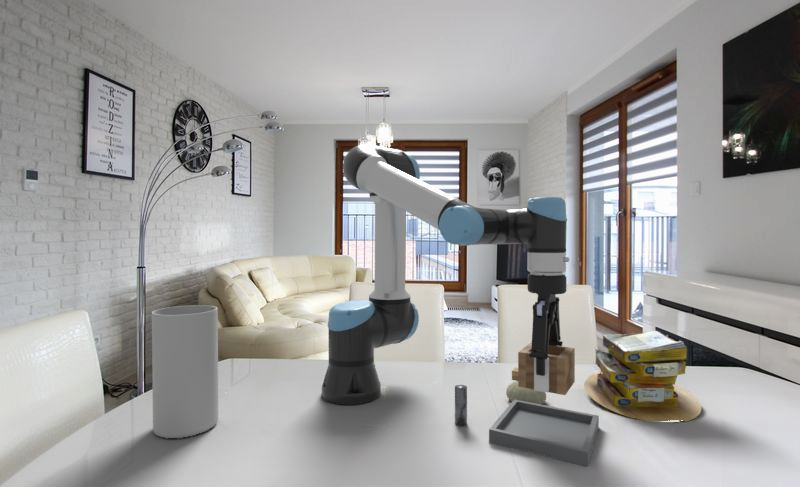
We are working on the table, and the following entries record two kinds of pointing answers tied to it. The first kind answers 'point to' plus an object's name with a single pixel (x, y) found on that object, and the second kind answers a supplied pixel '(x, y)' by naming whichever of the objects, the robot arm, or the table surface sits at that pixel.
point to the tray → (546, 431)
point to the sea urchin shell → (525, 394)
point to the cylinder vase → (184, 370)
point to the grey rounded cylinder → (461, 405)
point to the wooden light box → (558, 369)
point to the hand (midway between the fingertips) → (546, 383)
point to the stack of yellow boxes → (642, 378)
